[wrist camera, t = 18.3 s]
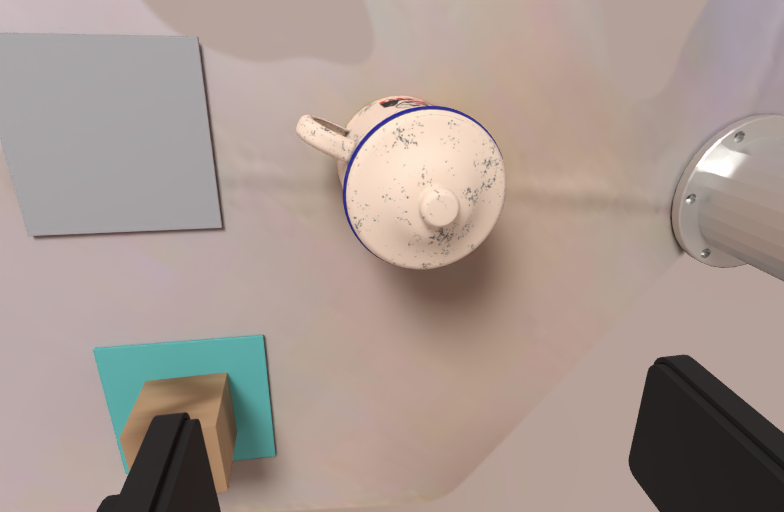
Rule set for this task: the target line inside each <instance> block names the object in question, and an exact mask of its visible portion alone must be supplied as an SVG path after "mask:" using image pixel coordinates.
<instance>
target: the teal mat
mask: <svg viewBox="0 0 784 512" xmlns="http://www.w3.org/2000/svg"><path fill="white" fill-rule="evenodd" d="M93 352H94V356H95V359H96V363H97V367H98V371H99V375H100V378H101V382H102V386H103V390H104V393H105V397H106V401H107V405H108V409H109V412H110V416H111V420H112V424H113V427H114V431H115V435H116V439H117V443H118V446H119V450H120V454H121V458H122V461H123V465H124V469H125V473H126V474H128V473H129V469H128V466H127V462H126V459H125V455H124V452H123V449H122V445H121V442H120V436H121V434H122V431H123V429H124V427H125V425H126V423H127V420H128V418H129V416H130V414H131V411H132V409H133V407H134V405H135V403H136V400H137V398H138V396H139V394H140V391H141V389H142V387H143V385H144V383H145V381H150V380H160V379H169V378H178V377H188V376H197V375H206V374H215V373H225V372H227V375H228V381H229V387H230V393H231V399H232V405H233V411H234V416H235V422H236V428H237V436H236V442H235V449H234V455H233V461H237V460H246V459H254V458H262V457H271V456H275V444H274V435H273V425H272V415H271V405H270V395H269V386H268V376H267V366H266V356H265V346H264V337H263V335H257V336H244V337H232V338H219V339H206V340H193V341H181V342H168V343H155V344H143V345H130V346H117V347H105V348H95V349H94V350H93Z"/></svg>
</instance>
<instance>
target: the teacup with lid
mask: <svg viewBox="0 0 784 512" xmlns="http://www.w3.org/2000/svg"><path fill="white" fill-rule="evenodd" d="M296 132H297V134H298V136H299V137H300V138H301V139H302V140H303V141H305V142H306V143H307V144H309V145H311V146H312V147H314V148H316V149H318V150H319V151H321V152H323V153H325V154H327V155H330V156H332V157H334V158H336V159H337V171H338V175H339V179H340V182H341V185H342V189H343V203H344V209H345V213H346V217H347V220H348V222H349V225H350V227H351V229H352V231H353V232H354V234H355V236H356V237H357V238H358V240H359V241H360V242H361V243H362V245H363V246H364V247H365V248H366V249H367V250H369V251H370V252H371V253H372V254H374V255H375V256H376V257H378V258H380V259H382V260H383V261H386V262H388V263H390V264H393V265H396V266H399V267H403V268H408V269H432V268H438V267H442V266H445V265H448V264H451V263H453V262H456V261H458V260H459V259H461V258H463V257H465V256H466V255H468V254H469V253H471V252H472V251H473V250H475V249H476V248H477V247H478V246H479V245H480V244H481V243H482V242H483V241H484V240H485V239H486V238H487V236H488V235H489V234H490V232H491V231H492V229H493V228H494V226H495V224H496V223H497V221H498V219H499V216H500V214H501V211H502V208H503V205H504V201H505V196H506V171H505V166H504V162H503V158H502V155H501V152H500V150H499V148H498V146H497V144H496V142H495V141H494V139H493V138H492V136H491V135H490V134H489V132H488V131H487V130H486V129H485V128H484V127H483V126H482V125H481V124H480V123H478V122H477V121H476V120H475V119H473V118H471V117H470V116H468V115H466V114H464V113H462V112H460V111H457V110H454V109H451V108H446V107H440V106H435V105H432V104H430V103H428V102H426V101H424V100H421V99H418V98H414V97H409V96H392V97H387V98H383V99H380V100H377V101H375V102H373V103H371V104H369V105H367V106H366V107H365V108H363V109H362V110H361V111H359V112H358V113H357V114H356V115H355V116H354V117H353V118H352V120H351V121H350V122H349V124H348V125H347V127H346V128H343V127H341V126H339V125H337V124H335V123H333V122H330V121H328V120H325V119H323V118H320V117H317V116H314V115H304V116H302V117H301V118H300V120H299V122H298V125H297V128H296Z"/></svg>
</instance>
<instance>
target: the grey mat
mask: <svg viewBox="0 0 784 512" xmlns="http://www.w3.org/2000/svg"><path fill="white" fill-rule="evenodd" d="M0 141H1V144H2V147H3V151H4V154H5V158H6V161H7V164H8V168H9V171H10V175H11V178H12V181H13V185H14V188H15V192H16V195H17V198H18V202H19V205H20V209H21V212H22V215H23V219H24V222H25V226H26V229H27V232H28V236H40V235H63V234H86V233H109V232H133V231H156V230H179V229H202V228H222V220H221V212H220V204H219V196H218V188H217V181H216V173H215V165H214V157H213V149H212V141H211V133H210V126H209V118H208V110H207V102H206V94H205V86H204V79H203V71H202V63H201V55H200V47H199V39H198V37H188V36H134V35H79V34H25V33H0Z"/></svg>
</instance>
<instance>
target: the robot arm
mask: <svg viewBox="0 0 784 512" xmlns="http://www.w3.org/2000/svg"><path fill="white" fill-rule="evenodd" d="M672 225H673V230H674V233H675V236H676V239H677V241H678V242H679V244H680V246H681V247H682V249H683V250H684V251H685V252H686V253H687V254H688V255H690V256H691V257H693V258H695V259H697V260H698V261H700V262H702V263H704V264H707V265H710V266H713V267H721V268H727V267H737V266H741V265H745V264H750V265H752V266H754V267H756V268H758V269H760V270H762V271H764V272H766V273H768V274H770V275H772V276H774V277H776V278H778V279H780V280H782V281H784V116H781V115H774V114H760V115H756V116H751V117H747V118H744V119H742V120H739V121H737V122H735V123H732V124H731V125H729V126H727V127H726V128H724V129H723V130H721V131H719V132H718V133H717V134H716V135H714V136H713V137H712V138H711V139H710V140H709V141H707V142H706V143H705V144H704V145H703V146H702V148H701V149H700V150H699V151H698V152H697V153H696V154H695V156H694V157H693V158H692V160H691V161H690V163H689V164H688V166H687V168H686V169H685V171H684V173H683V175H682V177H681V179H680V181H679V183H678V186H677V189H676V193H675V196H674V199H673V207H672ZM629 467H630V470H631V472H632V474H633V476H634V478H635V479H636V480H637V482H638V483H639V484H640V486H641V487H642V488H643V490H644V491H645V493H646V494H647V495H648V497H649V498H650V499H651V500H652V502H653V503H654V505H655V506H656V507H657V509H658V510H659V511H660V512H784V433H783V432H782V431H780V430H779V429H778V428H776V427H775V426H774V425H773V424H772V423H771V422H769V421H768V420H767V419H766V418H765V417H763V416H762V415H761V414H760V413H758V412H757V411H756V410H755V409H754V408H752V407H751V406H750V405H749V404H748V403H746V402H745V401H744V400H743V399H741V398H740V397H739V396H738V395H737V394H735V393H734V392H733V391H732V390H731V389H729V388H728V387H727V386H726V385H724V384H723V383H722V382H721V381H720V380H718V379H717V378H716V377H715V376H714V375H712V374H711V373H710V372H709V371H707V370H706V369H705V368H704V367H703V366H701V365H700V364H699V363H698V362H697V361H695V360H694V359H693V358H691V357H690V356H688V355H676V356H668V357H660V358H657V360H656V361H655V362H654V365H652V366H651V367H650V368H649V370H648V373H647V377H646V382H645V387H644V391H643V396H642V400H641V405H640V409H639V414H638V418H637V423H636V427H635V432H634V436H633V441H632V446H631V450H630V455H629ZM97 512H221V511H220V506H219V502H218V497H217V493H216V489H215V484H214V480H213V476H212V471H211V467H210V463H209V458H208V454H207V449H206V445H205V441H204V436H203V432H202V428H201V424H200V421H199V419H190V416H189V414H188V413H187V412H182V413H173V414H164V415H156V416H155V417H153V419H152V421H151V423H150V425H149V428H148V430H147V432H146V435H145V437H144V439H143V442H142V444H141V446H140V449H139V451H138V453H137V456H136V458H135V460H134V463H133V465H132V467H131V469H130V472H129V474H128V476H127V479H126V481H125V483H124V486H123V488H122V490H121V493H120V494H118V495H111V496H107V497H106V498H105V499H104V500H103V501H102V503H101V504H100V506H99V508H98V509H97Z"/></svg>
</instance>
